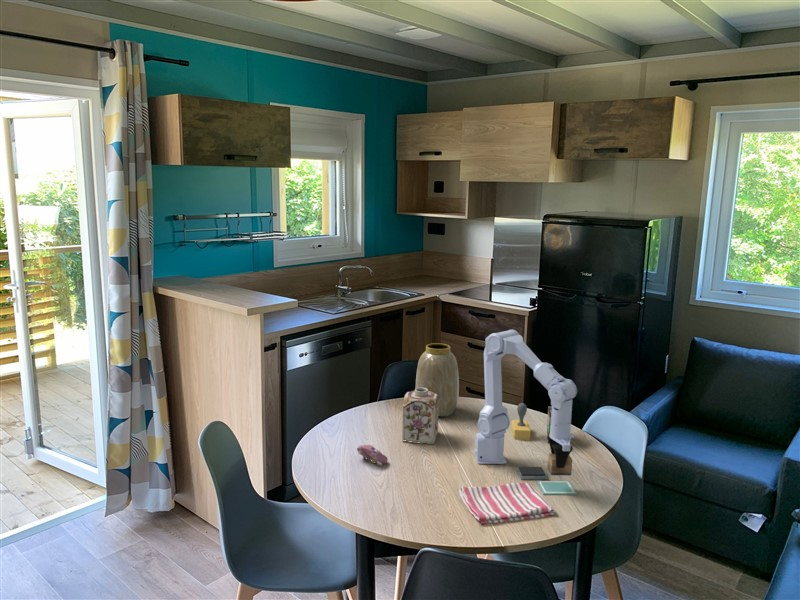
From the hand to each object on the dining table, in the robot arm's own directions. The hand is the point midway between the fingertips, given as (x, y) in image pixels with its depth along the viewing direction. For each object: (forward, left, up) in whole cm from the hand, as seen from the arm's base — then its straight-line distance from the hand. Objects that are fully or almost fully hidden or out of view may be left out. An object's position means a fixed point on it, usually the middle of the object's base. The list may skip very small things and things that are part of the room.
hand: (558, 463), depth 183 cm
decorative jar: (-39, +38, -8) cm, 55 cm away
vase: (-31, +64, -8) cm, 72 cm away
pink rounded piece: (-56, +18, -8) cm, 59 cm away
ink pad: (-6, +9, -8) cm, 13 cm away
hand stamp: (0, 0, -3) cm, 3 cm away
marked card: (0, 0, -8) cm, 8 cm away
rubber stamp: (-2, +41, -8) cm, 42 cm away
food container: (+10, +37, -8) cm, 39 cm away
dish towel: (-17, -10, -9) cm, 22 cm away
